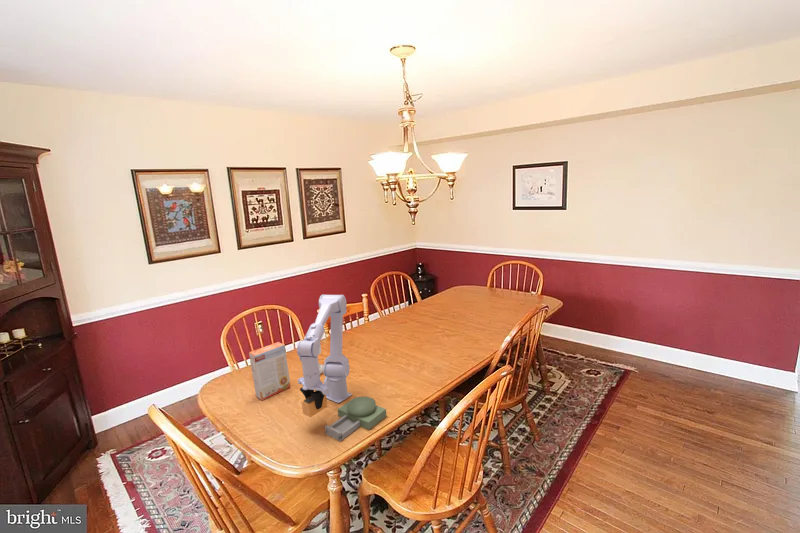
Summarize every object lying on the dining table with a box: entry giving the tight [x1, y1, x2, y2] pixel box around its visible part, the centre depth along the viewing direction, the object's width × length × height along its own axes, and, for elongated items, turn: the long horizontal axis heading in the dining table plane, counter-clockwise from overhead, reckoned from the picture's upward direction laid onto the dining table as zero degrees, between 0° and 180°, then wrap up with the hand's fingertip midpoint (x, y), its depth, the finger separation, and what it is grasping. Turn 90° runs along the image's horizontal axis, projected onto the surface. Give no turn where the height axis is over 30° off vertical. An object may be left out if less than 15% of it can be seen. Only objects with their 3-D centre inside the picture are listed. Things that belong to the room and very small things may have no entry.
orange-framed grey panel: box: [301, 394, 328, 418], centre depth 140 cm, size 4×8×5 cm, turn 142°
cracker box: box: [248, 341, 291, 401], centre depth 166 cm, size 14×6×21 cm, turn 135°
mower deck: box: [324, 396, 387, 442], centre depth 143 cm, size 16×21×5 cm
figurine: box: [318, 344, 324, 375], centre depth 181 cm, size 7×9×15 cm
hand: (315, 406), depth 140 cm, fingers closed on orange-framed grey panel, 4 cm apart
